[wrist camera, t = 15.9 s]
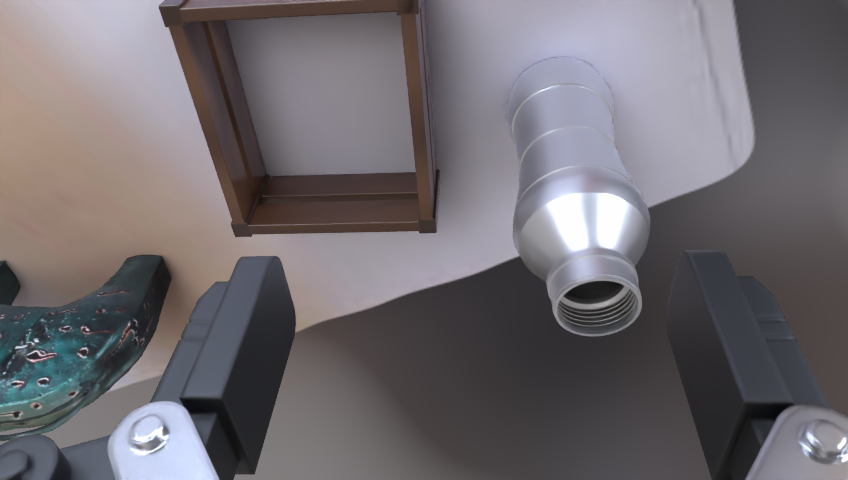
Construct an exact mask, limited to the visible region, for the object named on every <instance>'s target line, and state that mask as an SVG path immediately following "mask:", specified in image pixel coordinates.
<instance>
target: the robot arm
mask: <svg viewBox="0 0 848 480" xmlns="http://www.w3.org/2000/svg"><path fill="white" fill-rule="evenodd" d="M666 323H667V324H666V325H667V332H668V337H669V340H670V344H671V347H672V350H673V353H674V357H675V360H676V363H677V367H678V370H679V373H680V377H681V380H682V383H683V386H684V389H685V393H686V396H687V399H688V403H689V406H690V409H691V413H692V416H693V419H694V422H695V426H696V429H697V432H698V436H699V439H700V442H701V445H702V449H703V452H704V455H705V459H706V462H707V465H708V468H709V472H710V475H711V478H712V480H848V418H847V417H846V416H844V415H842V414H841V413H838V412H837V411H834V410H832V409H831V407H830V405H829V404H828V402H827V400H826V398H825V396H824V394H823V392H822V390H821V388H820V386H819V384H818V382H817V380H816V378H815V376H814V374H813V372H812V370H811V368H810V366H809V364H808V362H807V360H806V358H805V356H804V354H803V352H802V350H801V348H800V346H799V344H798V342H797V340H796V339H794V337H793V336H794V335H793V333H792V330H791V328H790V326H789V324H788V322H787V321H785V317H784V315H783V313H782V311H781V309H780V307H779V305H778V303H777V301H776V299H775V297H774V295H773V294H772V293H771V292H770V291H768V290H767V289H766V288H765V287H764V286H763V285H762V284H761V283H760V282H758V281H757V280H756V279H755V278H754V277H753V276H736V274H735V272H734V270H733V268H732V265H731V263H730V262H729V259H728V257H727V255H726V253H725V252H724V251H722V250H705V251H704V250H703V251H702V250H701V251H700V250H697V251H682V252H681V253H680V254H679V256H678V260H677V264H676V269H675V273H674V277H673V282H672V286H671V291H670V295H669V299H668V304H667V310H666ZM295 326H296V316H295V309H294V305H293V301H292V298H291V294H290V291H289V287H288V284H287V280H286V277H285V273H284V269H283V266H282V263H281V260H280V259H279V257H277V256H255V257H241V258H240V259H239V260H238V262H237V264H236V266H235V268H234V271H233V273H232V275H231V278H230V280H229V282H215V283H214V284H213V285H212V286H211V287H210V288H209V289H208V290H207V291H206V292H205V293H204V294H203V295H202V296H201V297H200V298H199V299H198V301H197V303H196V305H195V308H194V310H193V312H192V314H191V316H190V318H189V324H187V325H186V327H185V329H184V331H183V333H182V335H181V337H182V339H181V340H179V342H178V344H177V346H176V348H175V350H174V353H173V355H172V357H171V359H170V361H169V363H168V365H167V368H166V370H165V372H164V374H163V376H162V378H161V380H160V382H159V385H158V387H157V389H156V391H155V393H154V395H153V397H152V399H151V401H150V403H149V404H146V405H143V406H141V407H139V408H137V409H136V410H134V411H132V412H131V413H129V414H128V415H126V416H125V417H124V418H123V419H122V420H121V421H120V422H119V423H118V425H117V426H116V427H115V429H114V430H113V432H112V434H111V435H108V436H105V437H102V438H99V439H95V440H92V441H88V442H84V443H81V444H77V445H74V446H70V447H66V448H62V449H59V448H58V446H57V445H56V444H55V442H54V441H53V440H52V439H51V438H49V437H47V436H44V435H40V434H31V435H24V436H20V437H17V438H14V439H12V440H10V441H8V442H6V443H4V444H2V445H0V480H233V479H234V476H235V474H255V471H256V467H257V464H258V460H259V457H260V454H261V450H262V447H263V443H264V439H265V436H266V433H267V429H268V426H269V422H270V419H271V415H272V412H273V408H274V405H275V401H276V398H277V394H278V391H279V387H280V384H281V381H282V377H283V374H284V370H285V366H286V363H287V360H288V356H289V353H290V349H291V346H292V342H293V339H294V335H295Z"/></svg>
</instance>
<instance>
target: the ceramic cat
mask: <svg viewBox="0 0 848 480" xmlns="http://www.w3.org/2000/svg"><path fill="white" fill-rule="evenodd" d="M170 282H171V275H170V273H169V271H168V269H167V268H166V266H165V263H164V261H163V258H162V257H161V256H154V255H140V256H134V257H130V258H127V259H126V260H125V262H124V264H123V265H122V267H121V268H120V269H119V270H118V272H117V273H116V274H115V275H114V276H113V277H111V278H110V279H109V281H108V282H106V283H105V284H104V285H103V286H102V287H101V288H100V289H98V290H97V291H95V292H93V293H91V294H89V295H87V296H86V297H84V298H82V299H79V300H77V301H75V302H73V303H70V304H68V305H65V306H62V307H55V308H48V307H21V306H11V305H12V303H13V301H14V300H15V298H16V296H17V294H18V292H19V289H20V285H19V283H18V281H17V278H16V276H15V275H14V274H13V273H12V271H11V270H10V269H9V267H8V266H7V265H6V264H5V261H2V262H0V432H1V431H7V430H12V429H18V428H30V427H36V426H42V425H45V426H43V427H40V428H38V429H34V430H30V431H26V432H22V433H17V434H11V435H0V441H5V440H12V439H14V438H17V437H20V436H24V435H31V434H43V433H46V432H49V431H53V430H54V429H56V428H58V427H59V426H61V425H62V424H64V423H65V422H67V421H68V420H69V419H70V418H72V417H73V416H74V415H75V414H76V413H77V412H78V411H79V410H80V409H82V408H84V407H85V406H87V405H89V404H90V403H92V402H94V401H95V400H96V399H98V398H99V397H100V396H101V395H102V394H104V393H105V392H107V391H108V390H109V389H110V388H111V387H112V386H113V385H114V384H115V383H116V382H117V381H118V380H119V379H120V378H121V377H123V376H124V375H125V374H126V373H127V372H128V371H129V370H130V369H131V367H132V366H133V365H134V364H135V363H136V362H137V361H138V360H139V358H140V357H141V356H142V354H143V352H144V351H145V349H146V347H147V345H148V344H149V342H150V340H151V338H152V337H153V335H154V333H155V331H156V328H157V324H158V321H159V316H160V313H161V310H162V307H163V303H164V299H165V297H166V294H167V291H168V288H169V285H170ZM46 424H48V425H46Z"/></svg>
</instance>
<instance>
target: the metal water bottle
mask: <svg viewBox="0 0 848 480" xmlns="http://www.w3.org/2000/svg"><path fill="white" fill-rule="evenodd" d="M613 120H614V102H613V95H612V92H611V89H610V87H609V85H608V84H607V82H606V81H605V79H604V78H603V77H602V76H601V74H600V73H599V72H598V71H597V70H596V69H595V68H594V67H593V66H592V65H590V64H588V63H586V62H585V61H582V60H579V59H576V58H571V57H554V58H549V59H545V60H542V61H540V62H538V63H535V64H534V65H532V66H531V67H529V68H527V69H526V70H525V71H524V72H523V73H522V74H521V75H520V76H519V77H518V78H517V80H516V81H515V82H514V84H513V86H512V89H511V91H510V94H509V97H508V101H507V105H506V122H507V126H508V129H509V133H510V136H511V138H512V140H513V142H514V144H515V146H516V149H517V154H518V158H519V163H520V172H519V190H518V196H517V201H516V207H515V212H514V218H513V240H514V244H515V247H516V249H517V251H518V253H519V255H520V256H521V258H522V260H523V262H524V263H525V265H526V266H527V267H528V268H529V270H530V271H531V272H532V273H534V274H535V275H537V276H538V277H539V278H541V279H542V280H544V281H545V282H547V290H548V295H549V297H550V299H551V302H552V308H553V313H554V315H555V318H556V320H557V321H558V323H559V324H560V325H561V326H562V327H563V328H565V329H566V330H568V331H570V332H572V333H575V334H578V335H583V336H604V335H608V334H612V333H615V332H618V331H620V330H622V329H624V328H626V327H628V326H629V325H630V324H631V323H633V322H634V320H635V319H636V318H637V317H638V315H639V313H640V311H641V307H642V298H641V293H640V290H639V287H638V283H639V282H638V276H637V272H636V269H635V266H636V264H637V263H638V261H639V260H640V258H641V256H642V255H643V253H644V251H645V249H646V246H647V242H648V237H649V231H650V214H649V211H648V208H647V206H646V203H645V201H644V199H643V197H642V194H641V193H640V192H639V190H638V188H637V187H636V185H635V183H634V182H633V180H632V178H631V177H630V175H629V173H628V172H627V170H626V168H625V167H624V165H623V163H622V160H621V158H620V155H619V152H618V150H617V148H616V145H615V139H614V131H613Z"/></svg>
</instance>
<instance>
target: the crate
mask: <svg viewBox="0 0 848 480" xmlns="http://www.w3.org/2000/svg"><path fill="white" fill-rule="evenodd" d="M159 9H160V12H161V15H162V18H163V21H164V24H165V27H169V29H170V32H171V35H172V38H173V41H174V45H175V48H176V51H177V54H178V57H179V60H180V63H181V66H182V69H183V72H184V75H185V78H186V81H187V84H188V87H189V90H190V93H191V96H192V99H193V102H194V105H195V108H196V111H197V114H198V117H199V120H200V123H201V126H202V129H203V132H204V135H205V139H206V142H207V145H208V148H209V151H210V154H211V157H212V160H213V163H214V166H215V169H216V172H217V175H218V178H219V181H220V184H221V187H222V190H223V193H224V196H225V199H226V202H227V205H228V208H229V211H230V214H231V217H232V222H231V226H232V229H233V232H234V235H235V237H251V236H252V234H294V233H344V232H395V231H419V233H436V232H437V222H438V208H439V195H440V170H437V166H436V152H435V139H434V125H433V112H432V98H431V85H430V71H429V58H428V44H427V30H426V17H425V3H424V0H165V1H163V2H162V3H161V4H160V5H159ZM395 11H397V15H401V24H402V35H403V45H404V55H405V65H406V75H407V86H408V96H409V106H410V116H411V126H412V137H413V147H414V157H415V167H416V172H413V173H378V174H343V175H307V176H272V177H269V175H268V174H267V175H266V171H265V168H264V164H263V161H262V157H261V153H260V150H259V146H258V142H257V139H256V135H255V131H254V128H253V124H252V120H251V117H250V113H249V109H248V106H247V102H246V98H245V95H244V91H243V87H242V84H241V80H240V76H239V73H238V69H237V65H236V62H235V58H234V54H233V51H232V47H231V43H230V40H229V36H228V32H227V29H226V25H225V21H224V20H242V19H261V18H280V17H299V16H319V15H338V14H357V13H376V12H395Z"/></svg>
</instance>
